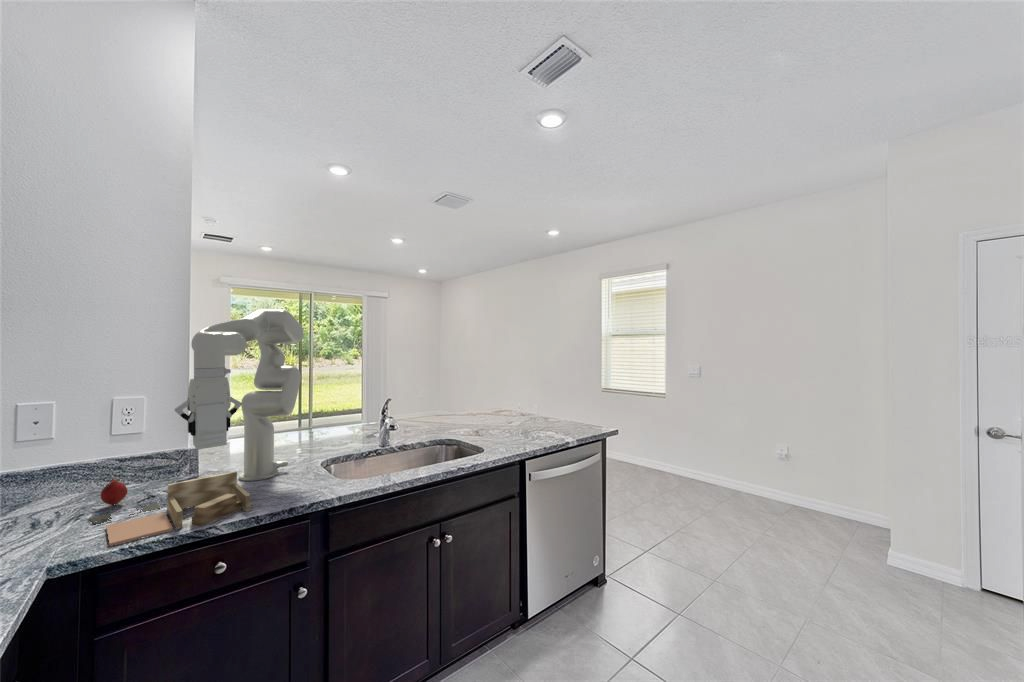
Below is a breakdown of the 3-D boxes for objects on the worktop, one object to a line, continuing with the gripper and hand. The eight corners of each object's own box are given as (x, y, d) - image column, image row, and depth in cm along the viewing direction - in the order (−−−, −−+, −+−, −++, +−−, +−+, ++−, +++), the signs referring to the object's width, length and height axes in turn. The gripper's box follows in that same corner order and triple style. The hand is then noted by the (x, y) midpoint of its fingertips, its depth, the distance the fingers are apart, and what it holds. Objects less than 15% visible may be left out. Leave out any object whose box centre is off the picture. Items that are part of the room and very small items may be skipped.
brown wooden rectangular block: (231, 508, 124) (232, 491, 124) (241, 509, 123) (241, 493, 123) (191, 525, 113) (191, 507, 113) (202, 527, 112) (202, 508, 112)
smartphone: (163, 506, 123) (93, 524, 111) (163, 509, 123) (93, 528, 111) (155, 501, 128) (86, 518, 115) (155, 503, 128) (86, 521, 115)
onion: (110, 510, 122) (110, 483, 122) (95, 508, 123) (95, 481, 123) (132, 502, 128) (132, 476, 128) (117, 501, 129) (117, 475, 129)
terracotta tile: (164, 515, 119) (164, 512, 119) (172, 530, 109) (172, 527, 109) (106, 528, 110) (106, 525, 110) (109, 546, 100) (109, 543, 100)
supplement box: (222, 440, 129) (222, 400, 128) (227, 445, 123) (227, 403, 123) (192, 445, 123) (192, 403, 123) (196, 450, 118) (196, 406, 118)
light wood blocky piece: (235, 495, 134) (235, 471, 134) (250, 510, 123) (250, 483, 123) (167, 511, 121) (167, 484, 121) (176, 529, 110) (177, 499, 110)
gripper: (240, 371, 132) (240, 426, 132) (170, 374, 119) (170, 435, 119) (246, 372, 127) (246, 430, 127) (174, 376, 114) (174, 440, 114)
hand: (209, 432), depth 123 cm, fingers closed on supplement box, 7 cm apart
